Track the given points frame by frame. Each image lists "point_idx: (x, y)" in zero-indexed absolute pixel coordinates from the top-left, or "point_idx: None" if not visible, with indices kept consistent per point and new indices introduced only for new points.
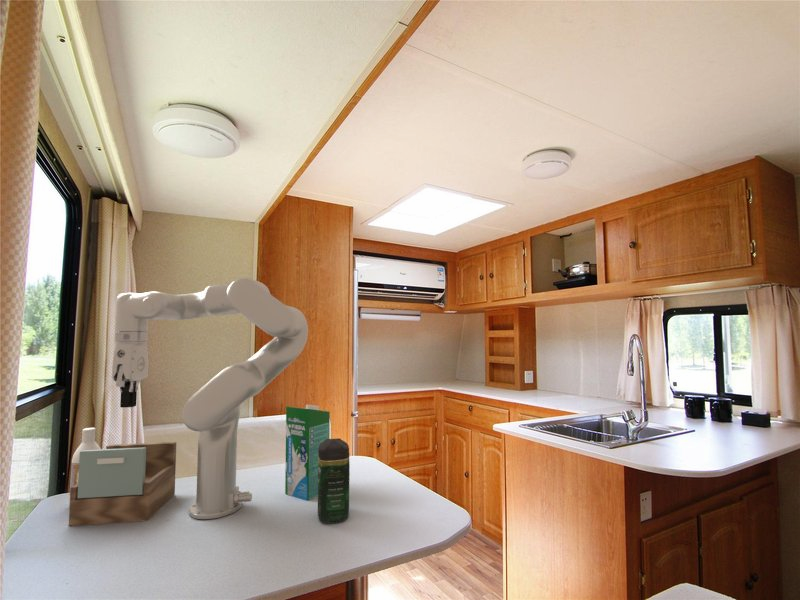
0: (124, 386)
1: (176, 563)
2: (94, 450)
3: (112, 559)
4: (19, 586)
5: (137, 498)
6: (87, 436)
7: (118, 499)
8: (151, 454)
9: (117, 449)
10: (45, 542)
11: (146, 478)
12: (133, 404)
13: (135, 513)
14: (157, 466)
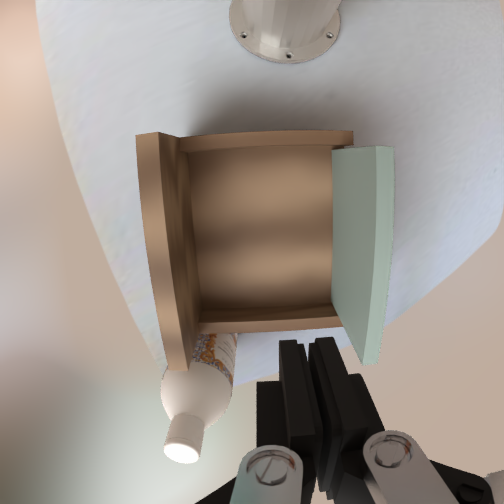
0: (492, 477)
1: (465, 46)
2: (378, 327)
3: (457, 137)
4: (490, 227)
5: None
6: (200, 435)
7: None
8: (175, 214)
9: (386, 251)
10: None
11: (205, 207)
12: (332, 344)
13: None
14: (183, 187)
